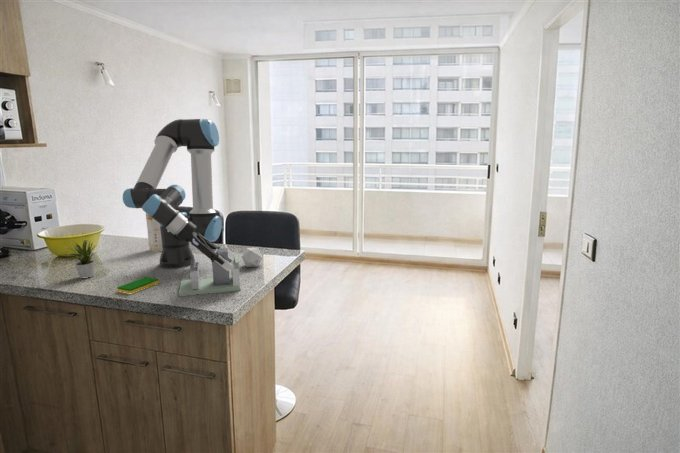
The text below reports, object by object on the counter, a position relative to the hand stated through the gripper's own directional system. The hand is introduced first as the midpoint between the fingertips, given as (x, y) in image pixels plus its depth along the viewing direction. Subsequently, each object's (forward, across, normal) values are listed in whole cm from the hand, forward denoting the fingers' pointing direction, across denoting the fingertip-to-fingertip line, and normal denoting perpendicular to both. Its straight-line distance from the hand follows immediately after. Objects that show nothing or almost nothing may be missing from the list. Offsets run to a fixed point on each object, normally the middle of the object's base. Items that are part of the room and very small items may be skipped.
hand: (230, 265), depth 171 cm
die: (+13, -26, +1) cm, 29 cm away
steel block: (+2, -1, -7) cm, 8 cm away
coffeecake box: (-18, -70, -27) cm, 77 cm away
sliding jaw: (-5, -1, -14) cm, 15 cm away
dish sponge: (-19, -9, -31) cm, 37 cm away
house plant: (-37, -30, -47) cm, 67 cm away
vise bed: (0, -1, -12) cm, 12 cm away
